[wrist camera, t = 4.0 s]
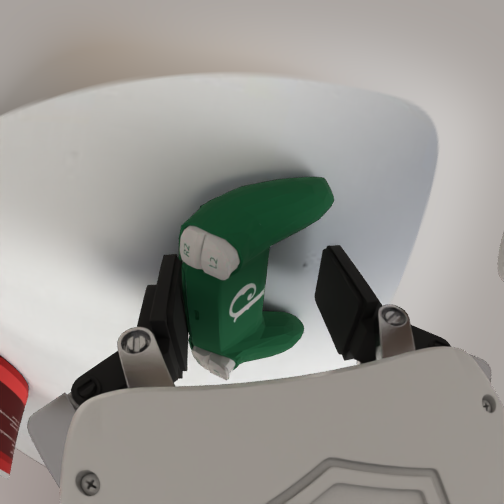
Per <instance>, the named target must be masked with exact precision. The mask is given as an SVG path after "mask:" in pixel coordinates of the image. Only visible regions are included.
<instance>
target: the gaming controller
mask: <svg viewBox="0 0 504 504" xmlns="http://www.w3.org/2000/svg"><path fill="white" fill-rule="evenodd" d="M333 202H334V197H333V194H332V191H331V189H330V187H329V185H328V183H327V181H326V180H325V179H324V178H322V177H299V178H286V179H277V180H272V181H266V182H261V183H256V184H251V185H246V186H241V187H239V188H237V189H234V190H232V191H230V192H227V193H225V194H223V195H221V196H219V197H216V198H214V199H212V200H210V201H208V202H207V203H206V204H204V205H202V206H200V209H199V210H198V211H197V212H196V213H195V214H193V215H192V216H191V217H190V218H189V219H188V220H187V221H186V222H185V223H183V224H182V225H181V230H180V234H179V260H181V261H183V264H182V293H183V301H184V309H185V316H186V324H187V329H188V332H189V335H190V336H189V340H188V341H189V344H190V348H191V350H192V351H191V352H192V354H193V356H194V358H195V359H196V360H197V362H198V363H199V364H200V365H201V366H202V367H204V368H205V369H207V370H209V371H210V372H211V373H213V374H215V375H217V376H219V377H221V378H223V379H225V380H228V379H229V373H230V372H231V371H232V370H234V369H235V368H237V367H238V365H239V364H241V363H243V362H247V361H252V360H257V359H261V358H266V357H270V356H273V355H276V354H279V353H282V352H284V351H286V350H288V349H290V348H291V347H293V346H294V345H295V344H296V342H297V341H298V340H299V339H300V338H301V336H302V334H303V332H304V326H303V324H302V322H301V321H300V320H299V319H298V318H297V317H296V316H294V315H292V314H289V313H286V312H277V311H262V309H263V300H264V292H265V284H266V275H267V266H268V258H269V249H270V246H272V245H274V244H275V243H277V242H279V241H281V240H283V239H285V238H287V237H289V236H291V235H293V234H295V233H297V232H298V231H300V230H302V229H304V228H306V227H307V226H309V225H311V224H312V223H314V222H316V221H317V220H319V219H320V218H321V217H322V216H323V215H324V214H325V213H326V212H327V211H328V210H329V208H330V207H331V206H332V204H333Z"/></svg>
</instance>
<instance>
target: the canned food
mask: <svg viewBox="0 0 504 504" xmlns="http://www.w3.org/2000/svg"><path fill="white" fill-rule="evenodd" d="M27 398H28V384H27V382H26V381H25V379H24V378H23V376H22V375H21V374H20V373H19V372H18V371H17V370H16V369H15V368H14V367H13V366H12V365H11V364H10V363H8V362H7V361H6V360H5V359H3V358H2V357H1V356H0V476H2V477H4V478H5V479H9V475H10V470H11V464H12V460H13V454H14V449H15V444H16V439H17V435H18V431H19V427H20V423H21V419H22V415H23V412H24V408H25V405H26V402H27Z"/></svg>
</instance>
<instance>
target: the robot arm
mask: <svg viewBox="0 0 504 504" xmlns="http://www.w3.org/2000/svg"><path fill="white" fill-rule="evenodd" d="M182 264H183V263H182V261H181V260H179V257H177V254H169V255H164V256H163V260H162V264H161V268H160V272H159V277H158V281H157V285H148V286H147V288H146V292H145V296H144V300H143V304H142V308H141V312H140V316H139V320H138V325H137V327H134V328H130V329H128V330H126V331H125V332H123V333H122V334H121V335H120V337H119V339H118V341H117V348H118V351H117V352H115V353H114V354H112V355H111V356H110V357H108V358H107V359H105V360H104V361H102V362H101V363H99V364H98V365H96V366H95V367H93V368H92V369H90V370H89V371H87V372H86V373H85V374H83V375H82V376H80V377H79V378H78V379H77V380H75V382H74V384H73V385H72V389H71V392H70V393H69V394H66V393H63V394H62V395H61V396H59V397H58V398H56V399H55V400H53V401H52V402H50V403H49V404H47V405H46V406H44V407H43V408H41V409H40V410H38V411H37V412H35V413H34V414H33V415H32V416H31V417H30V418H29V420H28V425H27V428H28V432H29V434H30V436H31V438H32V441H33V443H34V445H35V447H36V449H37V450H38V452H39V454H40V456H41V458H42V460H43V462H44V463H45V465H46V467H47V469H48V470H49V472H50V473H51V475H52V477H53V478H54V480H55V482H56V483H57V485H58V486H59V488H60V504H504V406H503V404H502V403H501V401H500V399H499V397H498V395H497V393H496V391H495V390H494V388H493V386H492V385H491V368H490V366H489V364H488V363H487V362H486V361H484V360H483V359H480V358H478V357H475V356H473V355H470V354H468V353H467V352H466V351H464V350H462V349H459V348H455V347H451V346H450V344H449V343H448V342H447V341H446V340H445V339H443V338H441V337H438V336H436V335H434V334H432V333H429V332H426V331H424V330H422V329H419V328H417V327H415V326H412V325H411V324H410V319H409V317H408V314H407V313H406V312H405V310H403V309H402V308H400V307H398V306H396V305H383V306H382V304H381V303H380V301H379V300H378V298H377V297H376V295H375V294H374V292H373V291H372V289H371V288H370V286H369V285H368V284H367V282H366V281H365V279H364V278H363V276H362V275H361V274H360V272H359V271H358V269H357V268H356V267H355V265H354V264H353V262H352V261H351V260H350V258H349V257H348V256H347V254H346V253H345V251H344V250H343V249H342V247H341V246H340V245H333V246H327V248H326V249H324V250H323V252H322V258H321V264H320V269H319V275H318V280H317V286H316V291H315V301H316V304H317V306H318V308H319V310H320V313H321V315H322V317H323V319H324V322H325V324H326V326H327V329H328V331H329V333H330V335H331V338H332V340H333V342H334V345H335V347H336V349H337V352H338V353H339V354H342V356H343V358H344V361H345V360H350V359H355V360H357V365H355V366H350V367H345V368H340V369H335V370H330V371H325V372H320V373H314V374H308V375H302V376H295V377H289V378H281V379H274V380H265V381H256V382H247V383H235V384H222V385H204V386H179V387H175V385H174V382H175V381H176V380H178V378H182V373H183V371H187V355H188V329H187V324H186V316H185V309H184V301H183V293H182Z"/></svg>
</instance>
